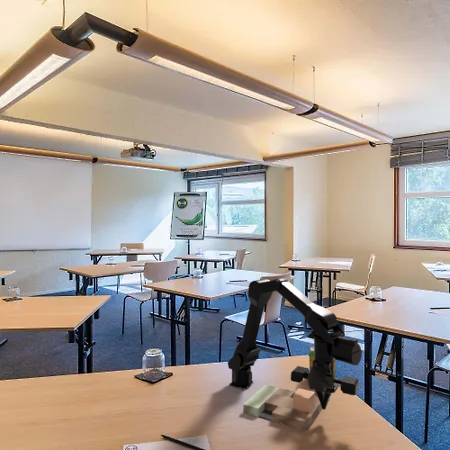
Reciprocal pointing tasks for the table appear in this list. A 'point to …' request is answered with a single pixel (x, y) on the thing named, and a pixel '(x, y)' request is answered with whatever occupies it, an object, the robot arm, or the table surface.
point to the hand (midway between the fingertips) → (324, 408)
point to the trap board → (280, 408)
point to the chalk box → (311, 358)
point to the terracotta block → (304, 400)
